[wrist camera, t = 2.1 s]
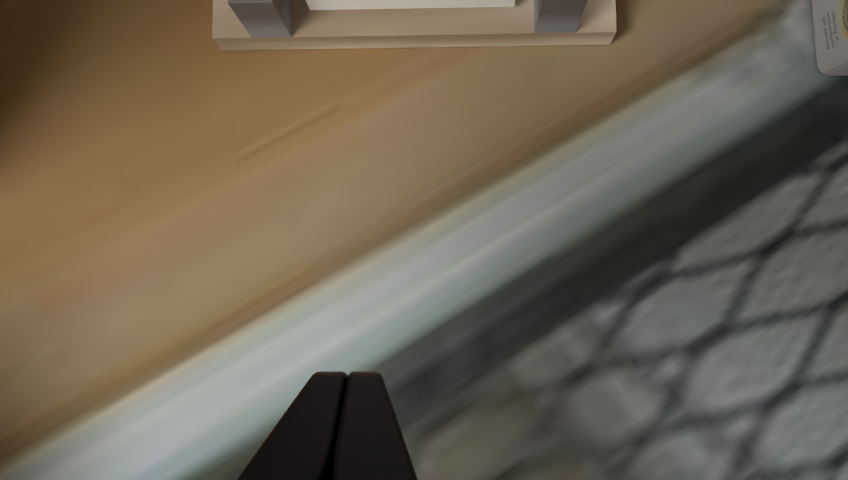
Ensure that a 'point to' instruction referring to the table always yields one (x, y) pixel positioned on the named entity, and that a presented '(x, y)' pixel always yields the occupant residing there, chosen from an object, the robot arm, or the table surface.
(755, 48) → the table surface
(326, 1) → the push knob
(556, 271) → the table surface
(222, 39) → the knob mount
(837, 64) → the coffee box
